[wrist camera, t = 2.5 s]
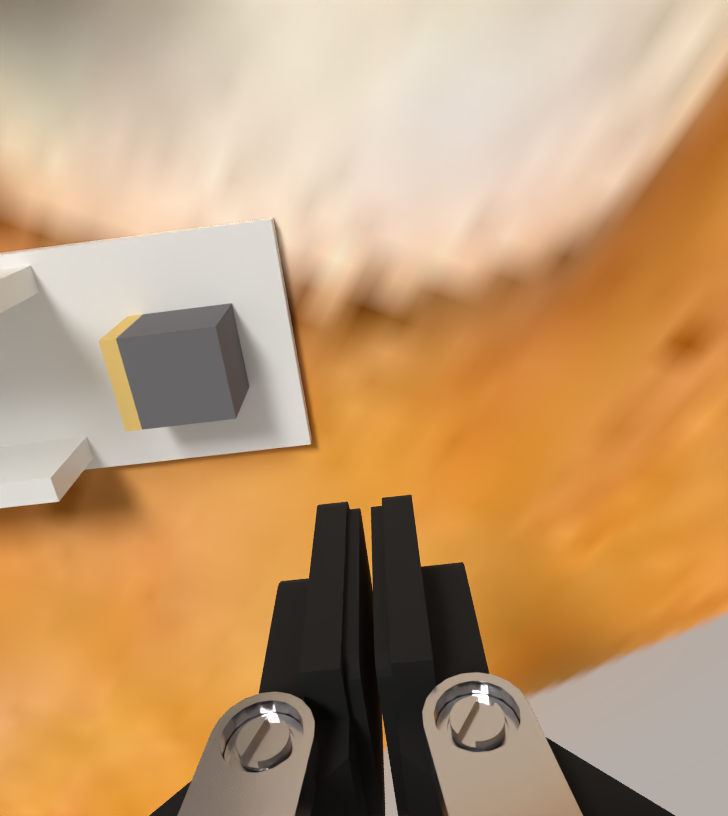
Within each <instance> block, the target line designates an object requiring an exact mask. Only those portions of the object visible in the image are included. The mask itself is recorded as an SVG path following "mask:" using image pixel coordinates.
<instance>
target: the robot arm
mask: <svg viewBox="0 0 728 816" xmlns="http://www.w3.org/2000/svg"><path fill="white" fill-rule="evenodd" d="M371 528H372V570H373V590H372V583H371V576H370V569H369V563H368V556H367V549H366V543H365V536H364V529H363V522H362V516H361V510H360V508H359V509H349V505H348V502H341V503H331V504H322V505H318V506H317V513H316V522H315V531H314V539H313V548H312V557H311V566H310V574H309V579H299V580H289V581H281V582H280V583H279V586H278V589H277V595H276V600H275V606H274V611H273V617H272V623H271V628H270V634H269V639H268V645H267V651H266V656H265V662H264V667H263V673H262V679H261V684H260V690H259V694H257V695H254V696H251V697H248V698H245V699H244V700H242V701H240V702H239V703H237V704H236V705H234V706H232V707H231V708H230V709H229V710H228V711H227V712H226V713H225V714H224V715H223V716H222V717H221V718H220V719H219V720H218V722H217V724H216V725H215V727H214V729H213V731H212V732H211V735H210V737H209V739H208V742H207V744H206V747H205V749H204V752H203V754H202V757H201V759H200V761H199V764H198V766H197V769H196V771H195V774H194V776H193V779H192V781H191V782H189V783H188V784H187V785H186V786H185V787H183V788H182V789H181V790H180V791H179V792H177V793H176V794H175V795H174V796H172V797H171V798H170V799H169V800H168V801H166V802H165V803H164V804H163V805H162V806H160V807H159V808H158V809H157V810H156V811H154V812H153V813H152V814H151V815H149V816H385V791H384V766H383V765H384V763H383V732H382V715H383V721H384V728H385V734H386V741H387V747H388V753H389V760H390V766H391V773H392V779H393V785H394V792H395V798H396V804H397V811H398V816H675V815H673V814H672V813H670V812H668V811H667V810H665V809H663V808H661V807H660V806H658V805H657V804H655V803H653V802H652V801H650V800H648V799H647V798H645V797H644V796H642V795H640V794H639V793H637V792H635V791H634V790H632V789H630V788H629V787H627V786H625V785H624V784H622V783H620V782H619V781H617V780H615V779H614V778H612V777H611V776H609V775H607V774H606V773H604V772H602V771H600V770H599V769H597V768H596V767H594V766H592V765H591V764H589V763H587V762H586V761H584V760H582V759H581V758H579V757H577V756H576V755H574V754H573V753H571V752H569V751H568V750H566V749H564V748H563V747H561V746H559V745H558V744H556V743H555V742H553V741H551V740H550V739H548V738H546V737H545V735H544V733H543V731H542V729H541V727H540V725H539V723H538V720H537V719H536V717H535V714H534V712H533V710H532V708H531V706H530V704H529V702H528V701H527V699H526V698H525V696H524V695H523V693H522V692H521V691H520V690H519V689H518V688H517V687H515V686H514V685H513V684H511V683H510V682H509V681H507V680H505V679H502V678H500V677H498V676H495V675H492V674H489V671H488V666H487V662H486V658H485V653H484V649H483V645H482V640H481V636H480V632H479V627H478V623H477V619H476V614H475V610H474V605H473V601H472V597H471V592H470V588H469V584H468V579H467V575H466V571H465V567H464V564H463V562H462V563H452V564H443V565H433V566H424V567H421V564H420V556H419V549H418V541H417V534H416V526H415V518H414V511H413V503H412V496H411V495H404V496H395V497H386V498H382V506H377V507H371Z"/></svg>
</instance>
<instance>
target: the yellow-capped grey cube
mask: <svg viewBox="0 0 728 816" xmlns="http://www.w3.org/2000/svg"><path fill="white" fill-rule="evenodd" d="M99 344H100V348H101V351H102V354H103V358H104V361H105V364H106V368H107V371H108V374H109V378H110V381H111V384H112V388H113V391H114V394H115V398H116V401H117V404H118V408H119V411H120V414H121V418H122V421H123V424H124V428H125V431H134V430H143V429H152V428H160V427H169V426H178V425H186V424H195V423H204V422H212V421H221V420H230V419H236V418H237V416H238V413H239V411H240V408H241V406H242V404H243V401H244V399H245V396H246V394H247V392H248V389H249V382H248V378H247V373H246V368H245V363H244V359H243V354H242V349H241V344H240V340H239V335H238V330H237V325H236V320H235V316H234V311H233V306H232V303H229V304H221V305H213V306H205V307H197V308H189V309H181V310H173V311H165V312H157V313H149V314H141V315H133V316H127V317H126V318H125V319H124V320H122V321H121V322H120V323H119V324H118V325H116V326H115V327H114V328H113V329H112V330H111V331H109V332H108V333H107V334H106V335H105V336H104V337H102V338H101V339H100V340H99Z"/></svg>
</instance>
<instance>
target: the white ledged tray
mask: <svg viewBox="0 0 728 816" xmlns="http://www.w3.org/2000/svg"><path fill="white" fill-rule="evenodd" d="M229 303H232V306H233V311H234V316H235V320H236V325H237V330H238V335H239V340H240V344H241V349H242V354H243V359H244V363H245V368H246V373H247V378H248V382H249V389H248V392H247V394H246V396H245V399H244V401H243V404H242V406H241V408H240V411H239V413H238V416H237V418H236V419H230V420H221V421H212V422H204V423H195V424H186V425H178V426H169V427H160V428H152V429H143V430H134V431H125V428H124V424H123V421H122V418H121V414H120V411H119V408H118V404H117V401H116V398H115V394H114V391H113V388H112V384H111V381H110V378H109V374H108V371H107V368H106V364H105V361H104V358H103V354H102V351H101V348H100V344H99V340H100V339H101V338H102V337H104V336H105V335H106V334H107V333H108V332H109V331H111V330H112V329H113V328H114V327H115V326H116V325H118V324H119V323H120V322H121V321H122V320H124V319H125V318H126V317H127V316H133V315H141V314H149V313H157V312H165V311H173V310H181V309H189V308H197V307H205V306H213V305H221V304H229ZM311 439H312V436H311V430H310V425H309V419H308V413H307V408H306V402H305V396H304V390H303V385H302V379H301V373H300V368H299V362H298V356H297V350H296V345H295V339H294V333H293V328H292V322H291V316H290V310H289V305H288V299H287V293H286V288H285V282H284V276H283V270H282V265H281V259H280V253H279V248H278V242H277V236H276V230H275V225H274V219H273V217H272V218H265V219H257V220H249V221H242V222H234V223H226V224H219V225H211V226H203V227H196V228H188V229H180V230H173V231H165V232H157V233H150V234H142V235H134V236H126V237H119V238H111V239H103V240H96V241H88V242H80V243H73V244H65V245H57V246H50V247H42V248H34V249H27V250H19V251H11V252H4V253H0V508H6V507H15V506H24V505H33V504H42V503H51V502H59V501H60V500H61V498H62V497H63V496H64V495H65V493H66V492H67V491H68V490H69V488H70V487H71V486H72V485H73V483H74V482H75V481H76V479H77V478H78V477H79V476H80V474H81V473H82V472H83V471H84V470H87V469H96V468H105V467H114V466H123V465H132V464H141V463H149V462H158V461H167V460H176V459H185V458H194V457H203V456H211V455H220V454H229V453H238V452H247V451H256V450H265V449H273V448H282V447H291V446H300V445H309V444H311Z"/></svg>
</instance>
